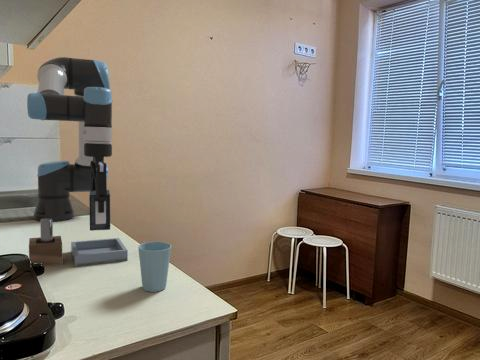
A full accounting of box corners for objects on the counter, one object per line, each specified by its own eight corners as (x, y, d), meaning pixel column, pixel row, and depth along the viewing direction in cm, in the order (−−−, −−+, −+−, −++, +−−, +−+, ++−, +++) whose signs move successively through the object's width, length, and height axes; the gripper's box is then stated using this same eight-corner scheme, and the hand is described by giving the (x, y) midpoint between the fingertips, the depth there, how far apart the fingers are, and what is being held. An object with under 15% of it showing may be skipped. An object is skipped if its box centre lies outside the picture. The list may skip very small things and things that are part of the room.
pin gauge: (41, 260, 109) (40, 218, 108) (52, 259, 110) (52, 218, 109) (41, 263, 106) (40, 221, 105) (53, 262, 108) (52, 220, 106)
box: (90, 224, 116) (90, 189, 115) (110, 224, 118) (110, 189, 117) (89, 230, 109) (89, 193, 108) (110, 230, 111) (110, 193, 110)
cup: (154, 297, 88) (155, 252, 87) (130, 289, 92) (131, 246, 91) (176, 286, 94) (177, 245, 93) (153, 279, 98) (154, 239, 97)
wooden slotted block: (30, 258, 110) (29, 238, 109) (60, 255, 114) (60, 235, 113) (29, 267, 103) (28, 246, 102) (62, 264, 106) (62, 243, 106)
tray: (71, 251, 118) (71, 242, 117) (118, 246, 124) (118, 237, 124) (75, 266, 105) (74, 255, 105) (127, 260, 112) (127, 250, 111)
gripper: (80, 141, 118) (81, 213, 121) (88, 143, 100) (89, 229, 102) (106, 141, 122) (106, 212, 124) (118, 144, 103) (118, 227, 106)
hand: (98, 220), depth 113 cm, fingers closed on box, 8 cm apart
